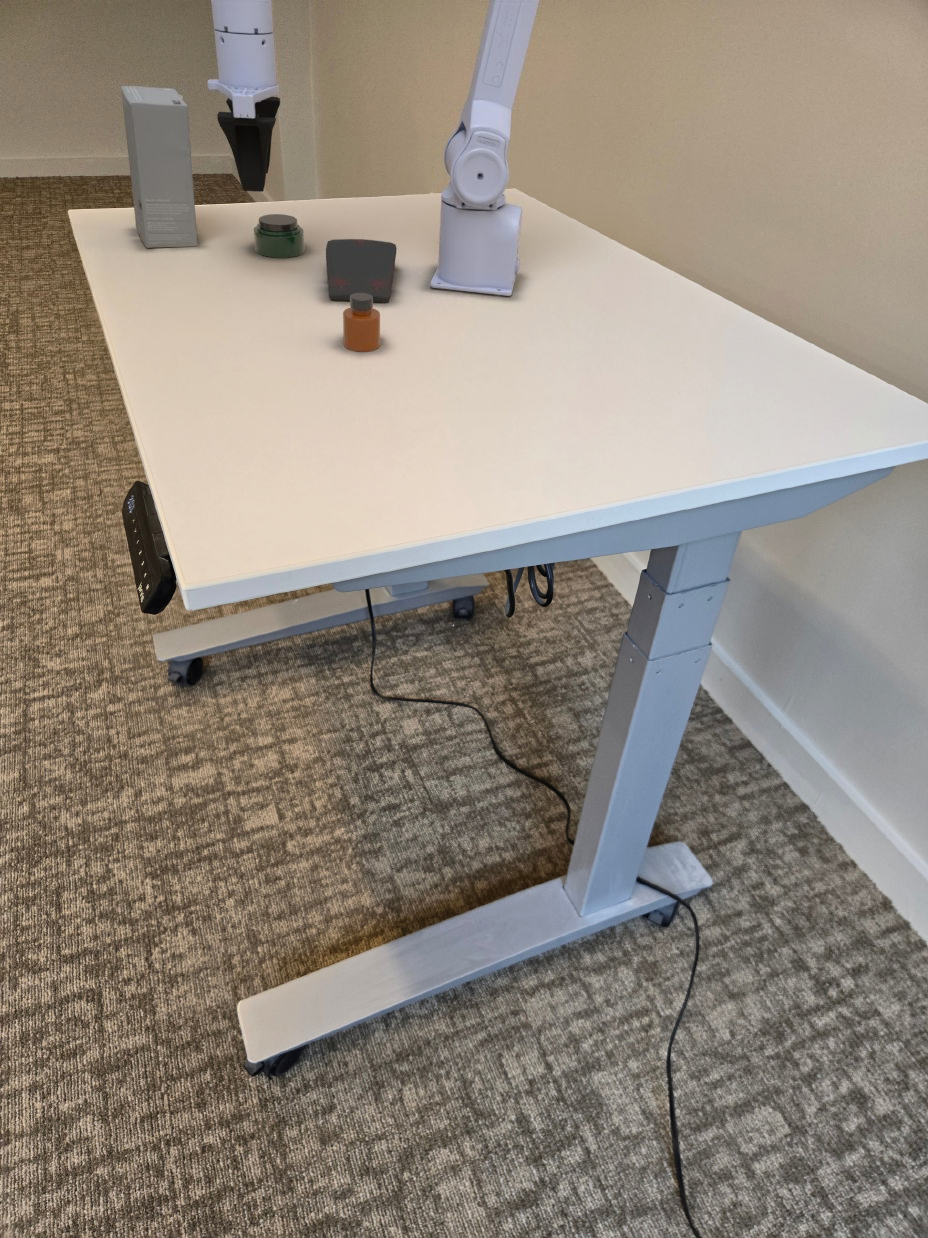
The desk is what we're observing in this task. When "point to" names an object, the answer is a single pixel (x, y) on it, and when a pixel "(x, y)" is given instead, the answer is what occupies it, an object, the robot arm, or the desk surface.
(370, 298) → the amber bottle
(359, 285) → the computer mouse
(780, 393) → the desk surface
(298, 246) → the green jar with lid
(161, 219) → the cosmetic box
